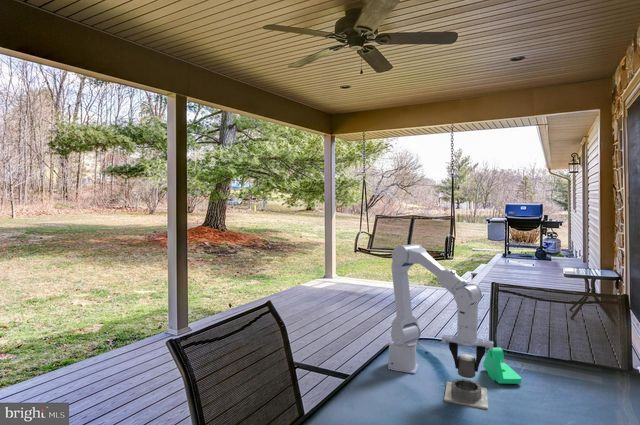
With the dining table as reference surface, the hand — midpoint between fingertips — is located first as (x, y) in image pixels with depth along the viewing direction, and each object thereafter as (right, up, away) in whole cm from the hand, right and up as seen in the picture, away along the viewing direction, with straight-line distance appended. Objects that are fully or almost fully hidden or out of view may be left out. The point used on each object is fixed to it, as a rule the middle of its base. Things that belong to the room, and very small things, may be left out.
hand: (466, 368), depth 118 cm
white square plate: (0, -8, 0) cm, 8 cm away
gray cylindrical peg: (0, -2, 0) cm, 2 cm away
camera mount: (+17, -8, +12) cm, 22 cm away
